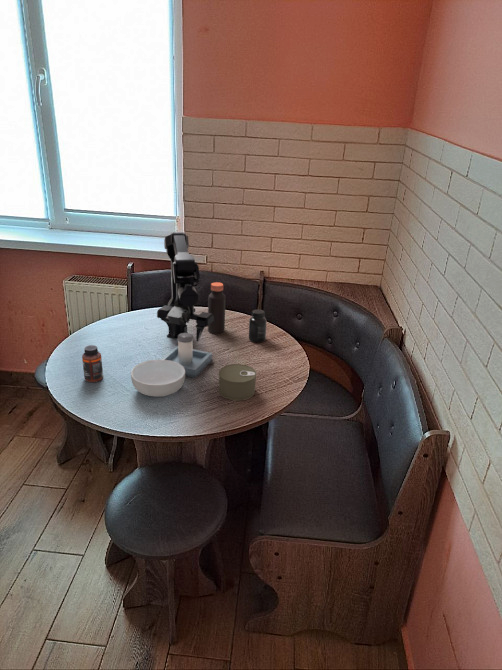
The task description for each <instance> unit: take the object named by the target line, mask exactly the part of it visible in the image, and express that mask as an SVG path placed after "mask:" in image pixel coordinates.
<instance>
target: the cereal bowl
mask: <svg viewBox="0 0 502 670" xmlns="http://www.w3.org/2000/svg"><path fill="white" fill-rule="evenodd" d="M161 359H162V358H161ZM161 359H150V360H146V361H142V362H141V363H138V364H137V365H135V366H134V367H133V368H132V369H131V370H130V378H131V383H132V386H133V387H134V389H135V390H136V391H138V392H139V393H140V394H143V395H145V396H149V397H155V398H156V397H165V396H166V397H167V396H170V395H172V394H174V393H177V392H178V391H180V389H181V388H182V387H183V385H184V382H185V380H186V376H185V369H184V367H183V366H182V365H180V364H179V363H177V362H174V361H170V360H161Z"/></svg>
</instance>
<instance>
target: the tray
mask: <svg viewBox="0 0 502 670" xmlns="http://www.w3.org/2000/svg"><path fill="white" fill-rule="evenodd" d="M161 360H170V361H174V362H177V363H178V345H176V346H175V347H174V348H172V350H170V351H169V352H168V353H167V354H165V355H164V356H163V357H162V358H161ZM212 360H213V352H208V351H204V350H200V349H194V348H193V363H192V364H191V365H188V366H183V365H182V366H183V367H184V369H185V377H190V378H194V379H196V378H197V377H198V375H200V373H202V372H203V370H204V369H205V368H207V366H208V365H209V364H210V363H212Z"/></svg>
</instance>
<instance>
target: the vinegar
mask: <svg viewBox="0 0 502 670" xmlns="http://www.w3.org/2000/svg"><path fill="white" fill-rule="evenodd" d="M210 291H211V293H210V294H208V298H207V299H208V300H207V301H208V302H207V307H208V309H207V313H212V314H213V316H214V321H213V322H212V323H211V324H210V325H208V326H207V330H208V332H209V333H210V334H215V335H217V334H218V335H219V334H222V333H224V332H225V329H226V328H225V327H226V324H225V323H226V295H225V294H224V293H223V292H224V284H223V283H222V282H219V281H218V282H217V281H216V282H211V283H210Z"/></svg>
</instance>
